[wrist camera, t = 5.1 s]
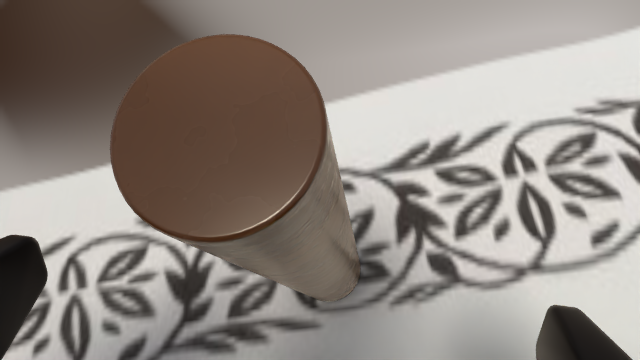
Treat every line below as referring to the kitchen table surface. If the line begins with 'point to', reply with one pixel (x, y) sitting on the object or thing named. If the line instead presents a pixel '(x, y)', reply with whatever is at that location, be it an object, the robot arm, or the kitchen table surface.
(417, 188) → the kitchen table surface
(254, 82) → the stirring stick
